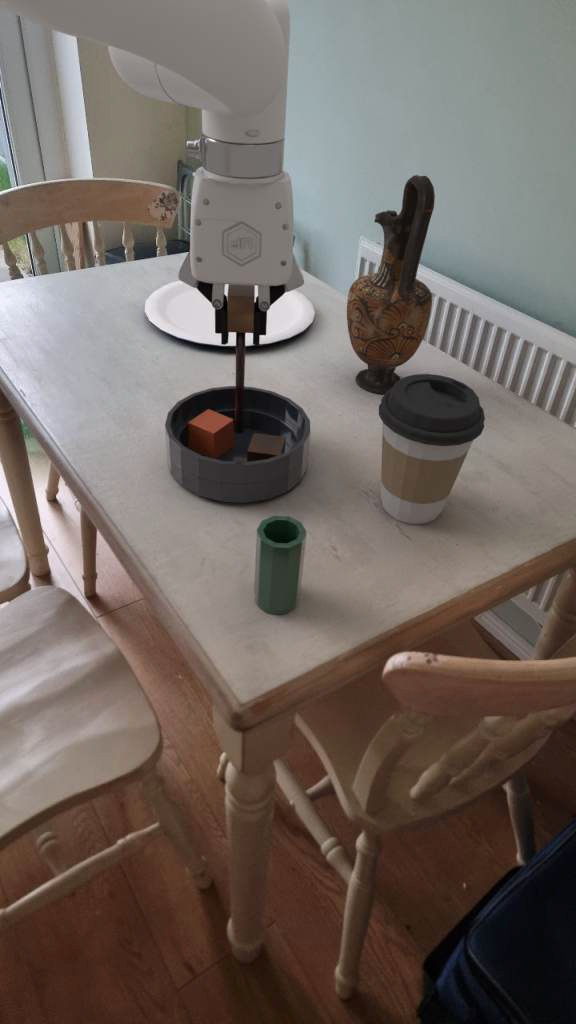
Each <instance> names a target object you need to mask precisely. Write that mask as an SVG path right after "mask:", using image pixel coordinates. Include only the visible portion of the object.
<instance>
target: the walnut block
mask: <svg viewBox="0 0 576 1024" xmlns="http://www.w3.org/2000/svg"><path fill="white" fill-rule="evenodd" d="M285 441H286V437H281V436H274V435H266V434H258V433H253V436H252V439H251V442H250V445H249V448H248V451H247V462H250V461H258V460H265V459H270V458H272V457H275V456H278V455H280V454H283V453H285Z"/></svg>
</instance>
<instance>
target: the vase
mask: <svg viewBox="0 0 576 1024" xmlns="http://www.w3.org/2000/svg"><path fill="white" fill-rule="evenodd" d="M435 199H436V195H435V187H434V185H433V182H432V181H431V179H430V178H429V177H428V176H427V175H419V174H415V175H412V176H411V177H410V178H409V179H408V180H406V182H405V185H404V188H403V195H402V200H401V202H402V203H401V210H400V212H399V214H398V212H397V211H395V210H390V209H388V210H386V211H381V212H377V213H376V214H375V217H374V220H373V221H374V224H375V223H376V224H379V225H380V226H381V228H382V231H383V248H382V249H383V250H382V254H381V260H380V264H379V266H378V270H377V272H374V273H373V272H372V273H369V274H365V275H363V276H360V277H359V278H357V279H355V280H354V282H352V284H351V286H350V288H349V290H348V294H347V302H346V324H347V332H348V336H349V340H350V341H349V342H350V345H351V347H352V349H353V351H354V353H355V354H356V356H357V357H358V358H359V360H361V361H362V362H363V363H364V364H366V366H367V368H365V369H362V370H360V371H359V372H358V373H357V374H356V376H355V383H356V385H357V386H358V387H360V388H361V389H363V390H364V391H367V392H371V393H374V394H380V395H385V393H386V392H387V391H388V390H390V389H392V387H393V386H394V384H395V383H396V382H397V381H399V380H400V379H402V378H401V377H400V376H399V375H398V374H397V373H396V368H397V367H400V366H402V365H404V364H405V363H407V362H408V361H410V359H412V357H413V356H414V355H415V354H416V352H417V351H418V349H419V348H420V346H421V344H422V342H423V340H424V337H425V335H426V333H427V329H428V326H429V323H430V320H431V319H430V318H431V313H432V307H433V297H432V292H431V290H430V288H429V287H428V286H427V285H426V284H425V283H424V282H422V281H421V280H419V279H418V278H417V274H418V270H419V265H420V261H421V258H422V253H423V250H424V247H425V246H424V245H425V242H426V238H427V234H428V229H429V226H430V222H431V219H432V216H433V211H434V209H435V201H436V200H435Z"/></svg>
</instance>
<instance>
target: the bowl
mask: <svg viewBox="0 0 576 1024" xmlns="http://www.w3.org/2000/svg"><path fill="white" fill-rule="evenodd" d="M235 390H236V385H228V386H219V387H210V388H207V389H205V390H200V391H197V392H193V393H191V394H189V395H187V396H186V397H184V398H182V399H180V400H179V401H177V402H176V403H175V404H174V406H172V408H171V409H170V410H169V411H168V412H167V416H166V419H165V424H164V432H165V433H164V434H165V446H166V447H165V448H166V462H167V465H168V468H169V472H170V475H171V476H172V477H173V478H174V479H175V481H176V482H178V484H180V485H181V487H183V488H185V489H186V490H189V491H190V492H192V493H194V494H196V495H198V496H200V497H203V498H207V499H210V500H214V501H219V502H222V503H242V504H245V503H253V502H259V501H267V500H270V499H273V498H275V497H277V496H280V495H282V494H286V493H287V492H289V491H290V490H291V489H292V488H294V487H295V486H296V485H297V484H298V483H301V481H302V479H303V477H304V475H305V473H306V472H307V469H308V462H309V453H310V442H311V421H310V419H309V416H308V415H307V413H306V412H305V410H304V408H303V407H301V406H300V405H299V404H297V403H296V402H295V401H293V399H291V398H289V397H286V396H284V395H282V394H280V393H278V392H275V391H272V390H269V389H263V388H259V387H256V386H244V428H243V433H242V434H237V433H236V432H235ZM208 409H210V410H212V411H214V412H217V413H219V414H222V415H224V416H226V417H229V418H231V419H233V420H234V437H233V447H231V448H230V449H229V450H227V451H226V452H225V453H223V454H222V455H221V456H219V457H218V458H217V459H213V458H209V457H206V456H204V455H201V454H199V453H197V452H195V451H193V450H190V449H189V428H188V422H190V421H191V420H193V419H194V418H196V417H197V416H199V415H200V414H202V413H203V412H205V411H206V410H208ZM253 433H258V434H266V435H274V436H281V437H286V441H285V453H283V454H280V455H278V456H275V457H272V458H270V459H265V460H258V461H250V462H247V451H248V448H249V445H250V442H251V439H252V436H253Z"/></svg>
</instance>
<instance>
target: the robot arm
mask: <svg viewBox="0 0 576 1024" xmlns="http://www.w3.org/2000/svg"><path fill="white" fill-rule="evenodd" d="M0 7H1V8H3V9H4V10H6V11H8V12H10V13H11V14H14V15H16V16H18V17H20V18H22V19H25V20H28V21H30V22H32V23H34V24H37V25H40V26H42V27H44V28H47V29H49V30H51V31H55V32H58V33H62V34H64V35H67V36H71V37H74V38H79V39H82V40H86V41H90V42H94V43H97V44H100V45H105V46H107V47H108V48H107V49H108V53H109V58H110V61H111V63H112V65H113V67H114V69H115V71H116V72H117V75H119V77H120V79H122V81H123V82H124V83H125V84H126V85H127V86H128V87H130V88H131V89H132V90H134V91H135V92H137V93H139V94H141V95H142V96H145V97H147V98H150V99H153V100H158V101H160V102H165V103H170V104H175V105H179V106H184V107H190V108H194V109H195V108H196V109H199V110H201V129H202V130H201V131H202V135H199V138H195V139H192V140H190V139H187V140H186V156H187V157H194V158H195V159H198V160H199V163H202V165H201V166H200V167H198V168H197V169H196V171H195V173H194V177H193V182H192V191H191V200H190V201H191V202H190V224H189V226H190V227H189V229H190V230H189V231H190V233H189V251H188V252H187V255H186V257H185V258H184V261H183V263H182V264H181V266H180V269H179V271H178V275H177V277H178V280H180V281H182V282H184V283H186V284H188V285H190V286H191V287H193V288H196V289H198V291H199V292H200V293H201V294H202V295H203V296H204V297H205V298H206V299H207V300H209V301H210V302H211V303H212V307H213V308H215V333H216V334H221V345H226V343H227V344H228V336H229V332H228V331H227V296H226V295H225V294H224V291H225V284H232V285H255V286H258V296H257V297H256V302H254V333H253V344H254V345H255V346H254V347H260V346H259V342H260V335H266V325H267V311H268V310H269V309H270V306H271V305H272V304H273V303H274V302H276V301H277V300H278V299H279V298H280V297H281V296H282V295H283V294H284V293H286V292H289V291H292V290H294V289H295V290H297V289H299V288H301V287H302V286H303V285H304V284H305V278H304V274H303V272H302V270H301V267H300V265H299V263H298V260H297V258H296V256H295V254H294V225H295V224H294V223H295V222H294V218H295V217H294V196H293V195H294V194H293V186H292V180H291V176H290V174H289V173H288V172H287V171H286V170H284V160H285V159H284V158H285V142H286V141H285V137H286V117H287V116H286V115H287V100H288V99H287V96H288V79H289V60H290V59H289V58H290V56H289V55H290V39H291V38H290V36H291V14H290V9H289V7H288V4H287V2H286V1H285V0H0Z"/></svg>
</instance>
